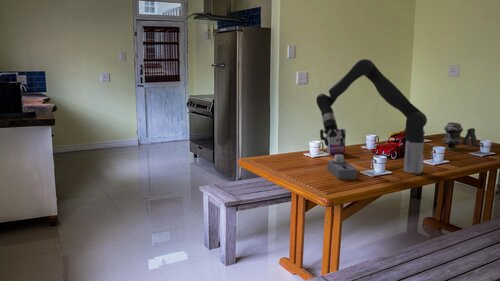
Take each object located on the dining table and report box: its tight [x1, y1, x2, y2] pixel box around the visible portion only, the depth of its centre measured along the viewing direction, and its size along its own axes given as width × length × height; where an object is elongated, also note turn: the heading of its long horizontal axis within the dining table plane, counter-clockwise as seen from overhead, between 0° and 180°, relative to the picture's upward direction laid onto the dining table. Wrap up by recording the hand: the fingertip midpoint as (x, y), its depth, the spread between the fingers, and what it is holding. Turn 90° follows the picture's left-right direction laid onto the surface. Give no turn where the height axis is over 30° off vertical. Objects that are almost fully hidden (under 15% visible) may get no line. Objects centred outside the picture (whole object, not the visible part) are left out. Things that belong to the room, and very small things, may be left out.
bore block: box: [326, 160, 358, 180], centre depth 229 cm, size 10×20×5 cm, turn 7°
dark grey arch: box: [461, 127, 479, 147], centre depth 305 cm, size 9×6×12 cm, turn 40°
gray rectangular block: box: [333, 153, 345, 164], centre depth 234 cm, size 4×4×9 cm
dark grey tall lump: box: [442, 121, 464, 151], centre depth 291 cm, size 12×12×18 cm
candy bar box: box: [326, 127, 347, 155], centre depth 278 cm, size 11×5×16 cm, turn 105°
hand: (334, 145), depth 240 cm, fingers open, 8 cm apart
